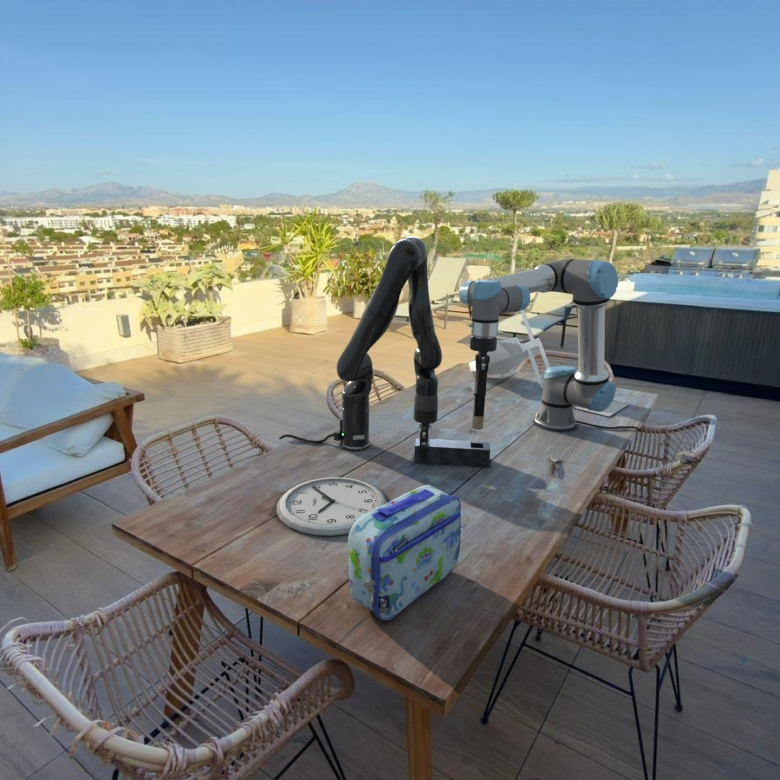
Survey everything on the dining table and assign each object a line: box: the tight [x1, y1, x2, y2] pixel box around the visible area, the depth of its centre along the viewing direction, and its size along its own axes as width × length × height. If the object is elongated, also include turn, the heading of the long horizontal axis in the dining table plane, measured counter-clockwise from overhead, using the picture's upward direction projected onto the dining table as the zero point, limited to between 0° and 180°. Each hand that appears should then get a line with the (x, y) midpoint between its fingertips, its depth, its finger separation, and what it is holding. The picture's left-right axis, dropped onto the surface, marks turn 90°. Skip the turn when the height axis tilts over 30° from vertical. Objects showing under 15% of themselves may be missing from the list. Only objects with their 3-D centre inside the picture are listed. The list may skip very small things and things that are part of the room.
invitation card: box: [573, 400, 629, 418], centre depth 226 cm, size 21×1×15 cm
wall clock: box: [276, 476, 388, 537], centre depth 142 cm, size 30×2×30 cm
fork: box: [550, 450, 560, 475], centre depth 169 cm, size 3×16×2 cm, turn 160°
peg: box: [471, 381, 486, 431], centre depth 155 cm, size 3×3×14 cm
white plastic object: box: [468, 309, 551, 390], centre depth 259 cm, size 37×45×31 cm
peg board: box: [413, 437, 491, 468], centre depth 171 cm, size 24×6×6 cm, turn 84°
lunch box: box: [347, 484, 462, 621], centre depth 107 cm, size 26×11×21 cm, turn 134°
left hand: (424, 454), depth 172 cm, fingers closed on peg board, 6 cm apart
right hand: (478, 413), depth 155 cm, fingers closed on peg, 3 cm apart
